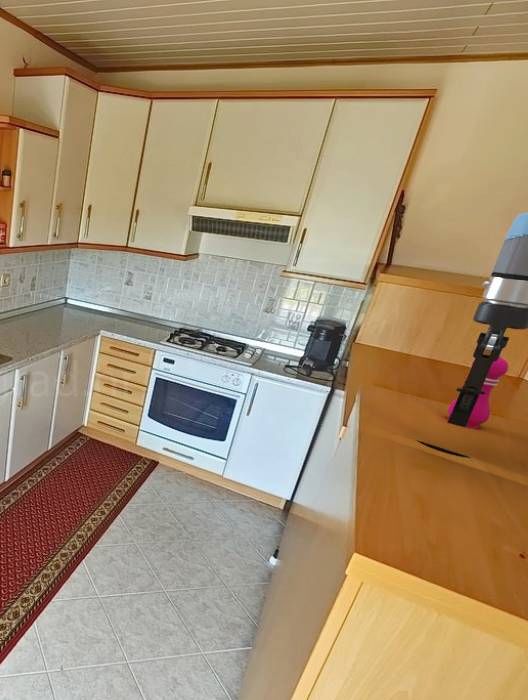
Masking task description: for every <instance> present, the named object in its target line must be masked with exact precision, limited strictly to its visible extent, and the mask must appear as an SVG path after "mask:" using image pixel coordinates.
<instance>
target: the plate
mask: <svg viewBox="0 0 528 700" xmlns="http://www.w3.org/2000/svg"><path fill="white" fill-rule="evenodd" d="M416 442H418V443H420V444H422V445H424V446H426V447H428V448H430V449H432V450H434V451H435V450H436V451H438V452H440V453H444V454H447V455H452V456H456V457H461V458H471V459H472V457H471V456H468V455H465V454H463V453H458V452H455V451H452V450H449V449H446V448H443V447H440V446H437V445H433V444H431V443H427V442H424V441H421V440H419V439H416Z"/></svg>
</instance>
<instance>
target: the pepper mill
mask: <svg viewBox="0 0 528 700" xmlns="http://www.w3.org/2000/svg"><path fill="white" fill-rule="evenodd" d="M501 356H502V351H501V354H500V356H499V358H498V360H497V361H495V362H493V363H492V366H491V368H490V370H489V372H488V375H487V377H486V379H485V382H484V384H483V387H482V388H481V390H482V391H485V394H484V395H483V394H480V395H479V397H478V400H477V402H476V404H475V407H474V409H473V411H472V413H471V416H470V418H469V420H468V423H467V425H466V427H465V428H469V429H480V425H482V424H485V423H486V422H488V421H489V418H490V416H491V410H490V409H491V408H490V394H491V393H492V390H493V389H494V387H496V386H498V385H499V384H498V383H499V382H500V379H499V378H501V377H503V376H505V375H506V374H507V372H508V370H509V363H508V361H507V360H506V359H505V358H503V357H501ZM473 363H474V360H473V361H472V362H471V367H472V365H473ZM457 399H458V397H457V398H455V399H454V400H453V401H452V402H451V403H450V404H449V405H448V408H447V413H448V415H449V416H450V415H451V413H452V411H453V408H454V406H455V403H456V401H457ZM449 418H450V417H447V421H448V420H449Z"/></svg>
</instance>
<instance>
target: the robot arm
mask: <svg viewBox="0 0 528 700" xmlns="http://www.w3.org/2000/svg"><path fill="white" fill-rule="evenodd" d="M481 287H484V288H485V289H484V291H483V294H482V299H484V300H485V301H481V302H480V303H478V305H477V307H476V310H475V313H474V315H473V317H472V321H474V322H476V323H478V324H481V325H488V326H489V327H488V329H487V332H480V334H479V335H478V338H477V340H476V343H477V345H476V347H475V350H474V352H473V354H472V357H473V358H474V360H473V361H474V363H473V362H472V363H473V365H472V364H471V365H472V367H471V368H470V369H469V373H468V375H467V377H466V379H465V381H464V384H463V385H462V386H461V387H457V388H456V390H455V391H456V392H459V393H458V396H457V398H458V399H457V398H456V399H457V401H456V403H455V406H454V408H453V411H452V413H451V415H449V417H448V418H449V420H448V419H447V424H451V425H454V426H458V427H460V428H461V427H462V428H467V427H466V425H467V423H468V420H469V418H470V416H471V413H472V411H473V409H474V407H475V404H476V402H477V400H478V397H479V395H480V394H483V395H484V394H485V391H482V390H481V388H482V387H483V384H484V382H485V379H486V377H487V375H488V372H489V370H490V368H491V366H492V363H493V362H495V361H497V360H498V358H499V357H501V355H502V353H501V352H502V351H503V349H504V348H506V347H507V345H508V341H509V340H510V336H505V333H506V331H507V329H511V330H521V331H522V330H527V329H528V211H527V212H521V213H520V214H519V215H517V216H516V217H515V218H514V219H513V222H512V223H511V226H510V228H509V231H508V232H507V234H506V236H505V238H504V241H503V242H502V246H501V248H500V250H499V253H498V256H497V258H496V261H495V264H494V266H493V269H492V272H491V273H490V277H489V281H483V282H482V284H481ZM500 354H501V355H500Z"/></svg>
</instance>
